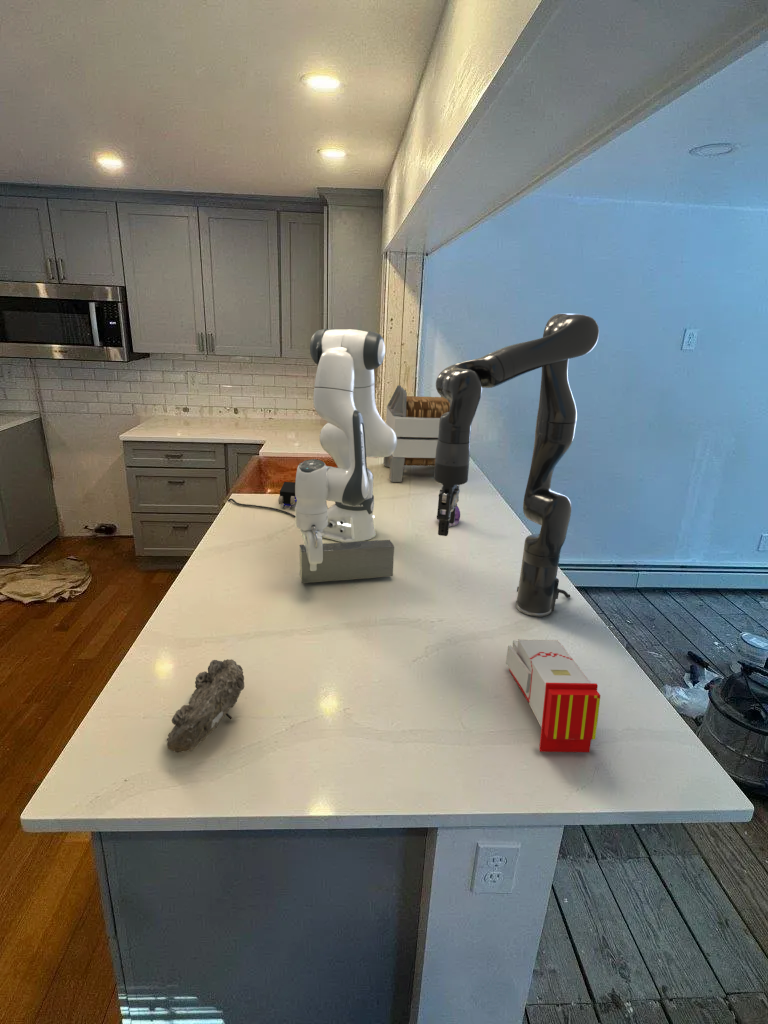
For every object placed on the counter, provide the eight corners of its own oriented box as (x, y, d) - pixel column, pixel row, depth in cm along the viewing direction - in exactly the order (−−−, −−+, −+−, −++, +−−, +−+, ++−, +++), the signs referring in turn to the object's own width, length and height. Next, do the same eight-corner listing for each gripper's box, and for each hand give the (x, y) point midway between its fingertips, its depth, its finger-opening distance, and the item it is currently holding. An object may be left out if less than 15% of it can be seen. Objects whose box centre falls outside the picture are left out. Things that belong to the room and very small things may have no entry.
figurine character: (295, 514, 218) (300, 497, 231) (295, 496, 214) (299, 480, 228) (278, 513, 217) (283, 497, 231) (277, 495, 214) (283, 480, 227)
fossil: (192, 660, 117) (244, 628, 112) (224, 691, 120) (276, 661, 115) (142, 746, 98) (202, 712, 93) (182, 779, 101) (242, 748, 96)
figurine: (445, 529, 206) (449, 489, 200) (430, 519, 214) (433, 481, 209) (467, 525, 210) (470, 487, 205) (451, 516, 218) (454, 479, 213)
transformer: (382, 463, 289) (386, 382, 275) (445, 464, 293) (451, 384, 279) (390, 482, 257) (394, 392, 243) (460, 483, 261) (468, 394, 247)
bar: (301, 583, 159) (301, 552, 156) (299, 575, 164) (299, 544, 160) (392, 576, 165) (394, 546, 162) (388, 568, 170) (389, 539, 167)
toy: (554, 622, 128) (610, 691, 98) (548, 677, 130) (601, 759, 101) (501, 621, 127) (541, 690, 98) (496, 676, 130) (534, 758, 101)
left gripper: (328, 532, 147) (328, 580, 152) (318, 506, 166) (317, 550, 171) (304, 534, 146) (304, 582, 150) (296, 507, 164) (296, 551, 169)
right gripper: (464, 470, 118) (457, 542, 123) (473, 455, 131) (466, 520, 136) (429, 466, 120) (423, 537, 125) (441, 451, 133) (436, 516, 138)
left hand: (311, 564), depth 161 cm, fingers closed on bar, 5 cm apart
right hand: (446, 528), depth 131 cm, fingers open, 8 cm apart
